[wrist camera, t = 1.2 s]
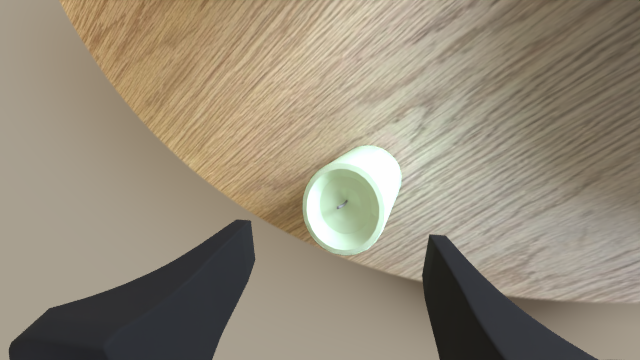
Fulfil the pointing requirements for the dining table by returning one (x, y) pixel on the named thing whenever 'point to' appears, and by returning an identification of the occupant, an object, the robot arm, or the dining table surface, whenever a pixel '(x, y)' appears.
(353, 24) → the dining table surface
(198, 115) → the dining table surface
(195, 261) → the robot arm
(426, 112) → the dining table surface
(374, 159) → the candle
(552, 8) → the dining table surface
